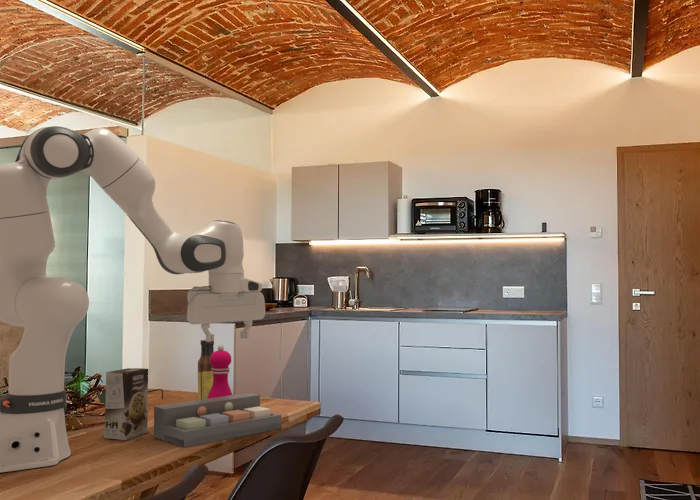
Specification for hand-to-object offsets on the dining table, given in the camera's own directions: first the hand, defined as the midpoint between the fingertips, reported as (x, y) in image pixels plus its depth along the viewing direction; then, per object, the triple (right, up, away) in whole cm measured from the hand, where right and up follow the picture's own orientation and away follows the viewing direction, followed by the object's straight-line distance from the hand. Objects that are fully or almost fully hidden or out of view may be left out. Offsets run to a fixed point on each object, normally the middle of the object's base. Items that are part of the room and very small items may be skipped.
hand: (227, 339), depth 175 cm
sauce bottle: (-12, -25, +37) cm, 46 cm away
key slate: (-2, -20, -5) cm, 21 cm away
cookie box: (-24, -23, -4) cm, 34 cm away
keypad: (-2, -23, -1) cm, 23 cm away
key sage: (-7, -20, -9) cm, 23 cm away
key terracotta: (+2, -20, 0) cm, 20 cm away
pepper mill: (-6, -24, +20) cm, 32 cm away
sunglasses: (-37, -25, +42) cm, 62 cm away
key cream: (+7, -20, +4) cm, 22 cm away
